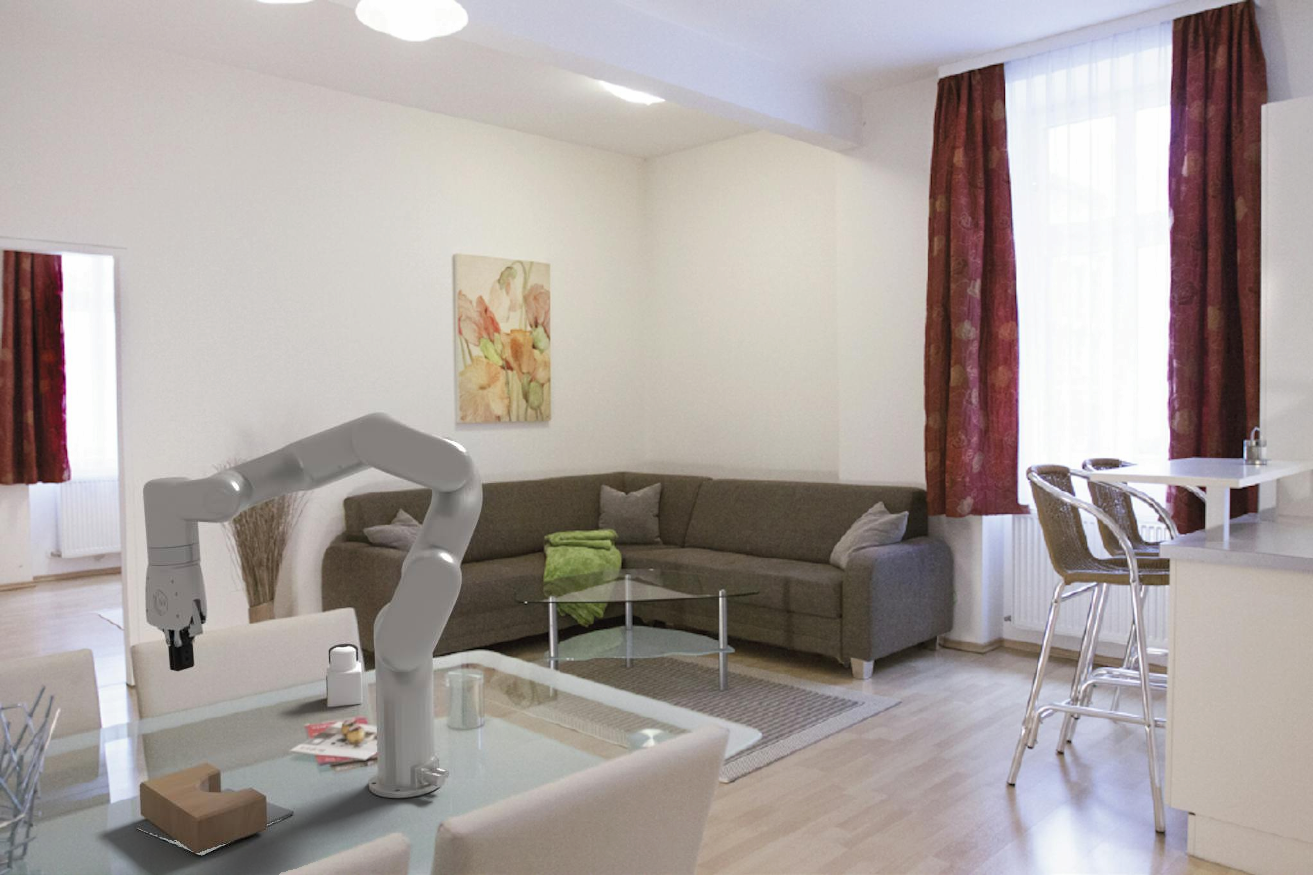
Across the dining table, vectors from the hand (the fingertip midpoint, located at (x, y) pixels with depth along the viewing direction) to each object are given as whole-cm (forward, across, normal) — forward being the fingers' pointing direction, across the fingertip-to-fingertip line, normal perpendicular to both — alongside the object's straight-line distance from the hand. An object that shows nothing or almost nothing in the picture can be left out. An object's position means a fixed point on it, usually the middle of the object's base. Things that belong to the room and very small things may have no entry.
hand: (182, 668), depth 159 cm
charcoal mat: (+23, +8, -1) cm, 25 cm away
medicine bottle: (+24, -21, +49) cm, 59 cm away
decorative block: (+20, -2, -1) cm, 20 cm away
